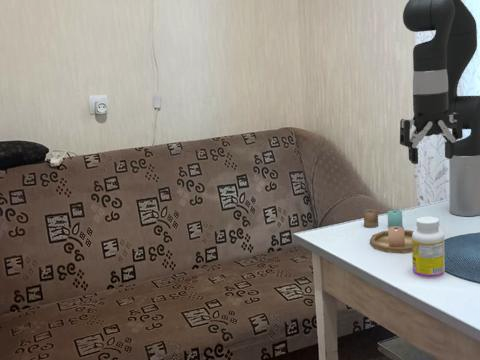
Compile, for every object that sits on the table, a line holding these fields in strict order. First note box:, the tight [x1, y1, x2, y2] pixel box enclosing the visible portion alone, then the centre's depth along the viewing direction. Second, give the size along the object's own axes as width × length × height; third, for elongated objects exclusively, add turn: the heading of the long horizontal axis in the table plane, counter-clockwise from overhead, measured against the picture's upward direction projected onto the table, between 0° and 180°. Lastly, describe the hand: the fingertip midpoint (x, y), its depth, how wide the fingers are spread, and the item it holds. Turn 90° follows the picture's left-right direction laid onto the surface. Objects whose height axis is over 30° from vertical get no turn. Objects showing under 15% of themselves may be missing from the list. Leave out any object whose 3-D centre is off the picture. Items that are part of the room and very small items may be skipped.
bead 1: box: [363, 208, 379, 229], centre depth 161 cm, size 4×4×5 cm
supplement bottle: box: [411, 216, 446, 279], centre depth 126 cm, size 7×7×13 cm
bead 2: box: [387, 209, 404, 228], centre depth 158 cm, size 4×4×5 cm
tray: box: [369, 229, 415, 254], centre depth 146 cm, size 14×14×2 cm
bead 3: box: [387, 226, 405, 248], centre depth 143 cm, size 4×4×5 cm
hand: (431, 160), depth 135 cm, fingers open, 8 cm apart
